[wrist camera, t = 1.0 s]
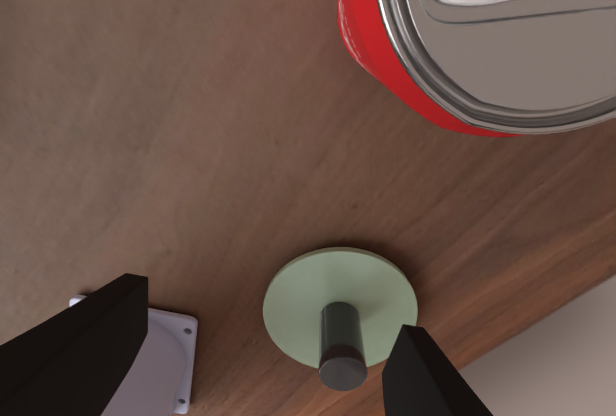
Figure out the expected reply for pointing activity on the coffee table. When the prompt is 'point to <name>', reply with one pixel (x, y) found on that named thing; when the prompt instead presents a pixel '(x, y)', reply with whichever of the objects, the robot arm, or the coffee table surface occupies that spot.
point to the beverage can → (490, 60)
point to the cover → (339, 312)
